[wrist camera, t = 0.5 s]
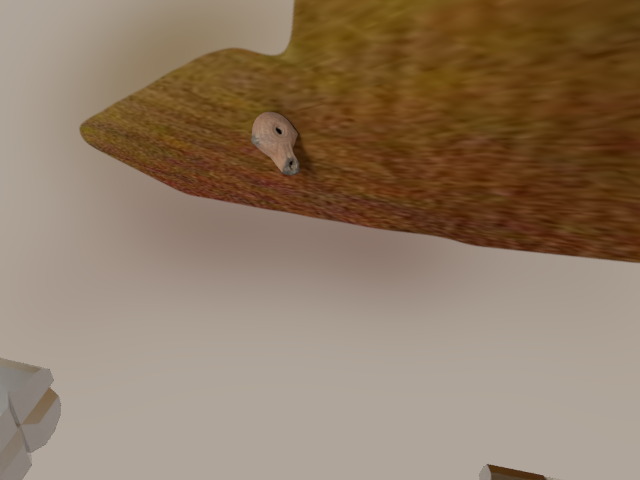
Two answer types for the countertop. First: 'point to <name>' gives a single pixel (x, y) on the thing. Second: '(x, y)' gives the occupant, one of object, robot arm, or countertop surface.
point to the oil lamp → (276, 140)
